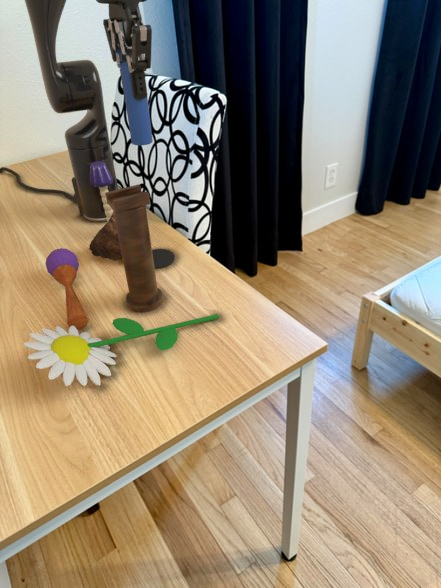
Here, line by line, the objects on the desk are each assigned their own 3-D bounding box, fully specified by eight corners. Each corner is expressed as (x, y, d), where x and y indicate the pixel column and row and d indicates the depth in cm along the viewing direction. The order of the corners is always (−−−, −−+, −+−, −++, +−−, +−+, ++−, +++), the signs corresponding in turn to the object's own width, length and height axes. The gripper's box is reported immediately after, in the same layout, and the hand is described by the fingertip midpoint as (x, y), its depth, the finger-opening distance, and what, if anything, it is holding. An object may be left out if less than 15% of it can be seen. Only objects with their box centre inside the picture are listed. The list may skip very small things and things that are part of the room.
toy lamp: (118, 241, 94) (104, 168, 84) (98, 240, 95) (82, 167, 85) (126, 231, 98) (113, 159, 88) (107, 229, 99) (92, 158, 88)
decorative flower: (200, 307, 79) (23, 345, 66) (202, 286, 76) (18, 322, 63) (232, 353, 70) (36, 408, 57) (237, 331, 67) (31, 384, 54)
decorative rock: (152, 251, 90) (145, 204, 84) (141, 267, 86) (133, 219, 79) (100, 246, 93) (89, 200, 86) (86, 261, 88) (74, 213, 82)
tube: (156, 142, 73) (136, 147, 72) (147, 137, 75) (128, 141, 74) (146, 64, 66) (124, 66, 64) (138, 60, 68) (116, 63, 67)
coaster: (134, 265, 86) (134, 264, 86) (150, 248, 92) (149, 246, 91) (166, 271, 84) (165, 269, 84) (180, 253, 90) (180, 251, 89)
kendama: (52, 317, 68) (38, 249, 81) (68, 340, 72) (52, 272, 86) (88, 302, 69) (68, 238, 83) (101, 326, 73) (80, 261, 87)
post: (135, 317, 74) (113, 205, 61) (122, 297, 78) (99, 190, 65) (168, 304, 76) (155, 195, 64) (154, 286, 81) (138, 180, 68)
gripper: (75, -39, 62) (98, 91, 72) (107, -41, 52) (129, 109, 63) (124, -40, 65) (140, 84, 75) (164, -42, 55) (175, 101, 66)
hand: (135, 95), depth 69 cm, fingers closed on tube, 3 cm apart
